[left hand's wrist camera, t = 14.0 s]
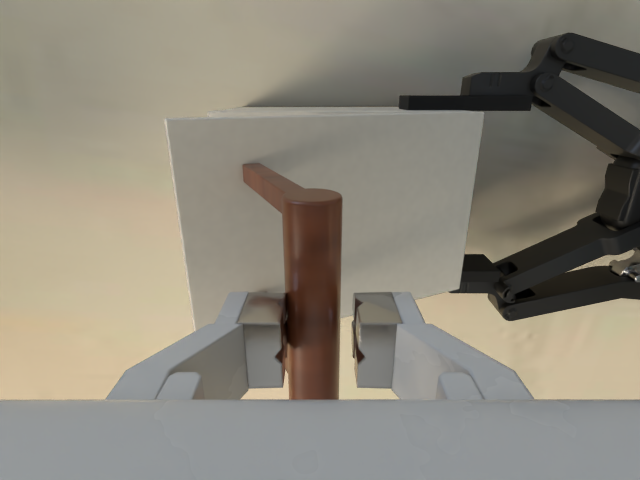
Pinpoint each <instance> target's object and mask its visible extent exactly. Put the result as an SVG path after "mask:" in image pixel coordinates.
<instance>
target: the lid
mask: <svg viewBox="0 0 640 480" xmlns="http://www.w3.org/2000/svg"><path fill="white" fill-rule="evenodd" d="M484 114H485V113H484V112H474V111H462V112H416V113H371V114H326V115H281V116H235V117H190V118H165V119H164V123H165V130H166V137H167V144H168V151H169V158H170V165H171V172H172V179H173V186H174V193H175V200H176V208H177V215H178V222H179V229H180V236H181V243H182V250H183V257H184V264H185V271H186V278H187V285H188V292H189V299H190V307H191V314H192V321H193V328H194V332H195V331H197V330H199V329H200V328H202V327H204V326H206V325H207V324H214V323H215V321H216V319H217V317H218V315H219V312H220V310H221V308H222V306H223V304H224V302H225V300H226V298H227V295H228V294H229V292H277V293H286V296H287V316H286V322H287V326H288V352H287V358H285V369H286V371H287V373H288V379H289V400H339V359H340V318H344V317H348V316H352V315H353V309H352V304H353V293H365V292H410V293H411V294H412V296H413V298H414V300H416V299H420V298H424V297H428V296H432V295H436V294H440V293H445V292H449V291H453V290H457V289H459V287H460V280H461V274H462V267H463V260H464V253H465V246H466V239H467V232H468V225H469V218H470V211H471V204H472V197H473V190H474V184H475V177H476V170H477V163H478V156H479V149H480V142H481V135H482V128H483V121H484Z"/></svg>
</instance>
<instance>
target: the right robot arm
mask: <svg viewBox="0 0 640 480" xmlns="http://www.w3.org/2000/svg"><path fill="white" fill-rule="evenodd" d="M531 56H532V58H531V59H530V61H529V63H528V65H527V67H526V68H525V69H524V70H522V71H521V72H481V73H474V74H470V75H468V76H465V77H463V79H462V88H461V96H400V99H399V109H403V110H466V111H530V110H531V104H532V105H534V106H535V107H537V108H538V109H540V110H541V111H543V112H545V113H546V114H548V115H549V116H551V117H552V118H554V119H556V120H557V121H559V122H560V123H562V124H563V125H565V126H566V127H568V128H570V129H571V130H573V131H574V132H576V133H577V134H579V135H581V136H582V137H584V138H585V139H587V140H588V141H590V142H592V143H593V144H595V145H596V146H597V149H599V150H600V151H602V152H603V153H605V154H607V155H608V156H610V157H611V158H613V159H615V161H614V163H613V164H608V167H607V171H606V175H605V189H604V191H603V193H602V195H601V197H600V199H599V201H598V204H597V208H596V213H594V214H592V215H590V216H587V217H585V218H583V219H581V220H579V221H578V222H577V225H576V226H575V227H573V228H571V229H568V230H566V231H564V232H562V233H560V234H557V235H555V236H553V237H551V238H548V239H546V240H544V241H542V242H540V243H537V244H535V245H533V246H531V247H528V248H526V249H524V250H522V251H520V252H517V253H515V254H513V255H511V256H508V257H506V258H504V259H502V260H500V261H497V262H495V263H492V262H491V261H490V260H489V259H488V258H487V257H486V256H485V255H484V254H464V260H463V267H462V274H461V280H460V287H459V289H457V290H453V291H449V293H488V299H489V300H490V302H491V303H492V304H493V305H494V307H495V308H496V309H497V310H498V312H499V313H500V314H501V315H502V317H503V318H504V319H505V320H508V321H514V320H519V319H523V318H528V317H533V316H538V315H542V314H547V313H552V312H557V311H562V310H566V309H571V308H576V307H581V306H585V305H590V304H595V303H600V302H605V301H609V300H614V299H619V298H627V299H639V300H640V130H639V129H638V128H636V127H635V126H633V125H632V124H630V123H629V122H627V121H626V120H624V119H622V118H621V117H619V116H618V115H616V114H615V113H613V112H612V111H610V110H609V109H607V108H606V107H604V106H603V105H601V104H600V103H598V102H597V101H595V100H594V99H592V98H591V97H589V96H588V95H586V94H585V93H583V92H582V91H580V90H579V89H577V88H576V87H574V86H573V85H571V84H570V83H568V82H567V81H565V80H564V79H562V78H561V77H559V74H560V72H561V70H563V71H567V72H570V73H573V74H577V75H580V76H583V77H587V78H590V79H593V80H597V81H600V82H603V83H607V84H610V85H613V86H617V87H620V88H623V89H627V90H630V91H633V92H637V93H640V54H639V53H636V52H632V51H629V50H626V49H623V48H620V47H616V46H613V45H610V44H607V43H603V42H600V41H597V40H594V39H591V38H587V37H584V36H581V35H578V34H574V33H566V34H562V35H558V36H554V37H550V38H547V39H543V40H540V41H538V42H537V43H535V45H534V46H533V48H532V51H531ZM632 249H633V250H634V251H635V253H634V254H633V256H632V257H630V258H629V259H626V260H620V261H617V260H612V261H611V262H610V263H609V266H594V267H589V268H584V269H579V270H575V271H570V272H567V271H569V270H572V269H574V268H576V267H579V266H581V265H583V264H586V263H588V262H590V261H593V260H595V259H597V258H600V257H602V256H605V255H619V254H622V253H625V252H627V251H629V250H632ZM565 272H566V273H565Z"/></svg>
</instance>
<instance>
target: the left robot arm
mask: <svg viewBox="0 0 640 480" xmlns="http://www.w3.org/2000/svg"><path fill="white" fill-rule="evenodd" d="M352 309H353V316H354V320H353V321H352V352H353V358H354V359H355V376H356V383H357V388H392V391H393V392H394V393H395V394H396V395H397V396H398V397H399V398H400V399H401V400H240V399H241V398H242V396H243V395H244V394H245V393H246V392H247V391H248V388H283V383H284V376H285V358H287V352H288V326H287V322H286V316H287V296H286V293H277V292H229V294H228V295H227V298H226V300H225V302H224V304H223V306H222V308H221V310H220V312H219V315H218V317H217V319H216V321H215V323H214V324H207V325H206V326H204V327H202V328H200V329H199V330H197V331H195V332H193V333H191V334H190V335H188V336H186V337H184V338H183V339H181V340H179V341H177V342H176V343H174V344H172V345H170V346H168V347H167V348H165V349H163V350H161V351H160V352H158V353H156V354H154V355H152V356H151V357H149V358H147V359H145V360H144V361H142V362H140V363H138V364H137V365H135V366H133V367H131V368H129V369H128V370H126V371H125V372H124V374H123V375H122V377H121V378H120V379H119V381H118V382H117V384H116V385H115V386H114V388H113V389H112V391H111V392H110V393H109V395H108V396H107V398H106V399H105V400H0V480H640V400H585V399H534V398H533V396H532V395H531V393H530V392H529V391H528V389H527V388H526V386H525V385H524V384H523V382H522V381H521V379H520V378H519V376H518V375H517V374H516V372H515V371H514V370H512V369H510V368H508V367H507V366H505V365H503V364H501V363H500V362H498V361H496V360H494V359H493V358H491V357H489V356H487V355H485V354H484V353H482V352H480V351H478V350H477V349H475V348H473V347H471V346H470V345H468V344H466V343H464V342H463V341H461V340H459V339H457V338H455V337H454V336H452V335H450V334H448V333H447V332H445V331H443V330H441V329H440V328H438V327H436V326H434V325H433V324H426V323H425V321H424V319H423V317H422V315H421V313H420V311H419V309H418V306H417V304H416V302H415V300H414V298H413V296H412V294H411V293H410V292H365V293H353V304H352Z"/></svg>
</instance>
